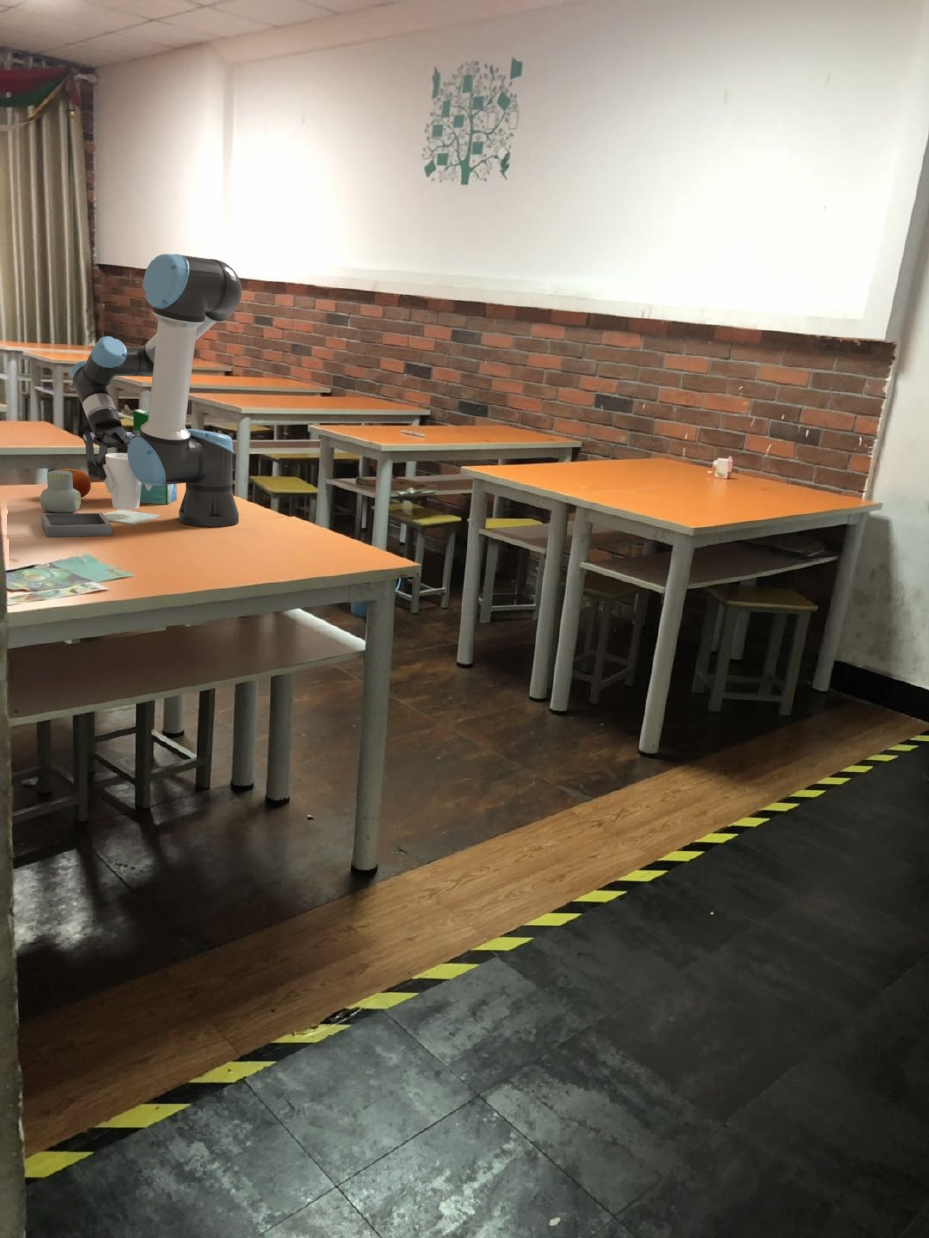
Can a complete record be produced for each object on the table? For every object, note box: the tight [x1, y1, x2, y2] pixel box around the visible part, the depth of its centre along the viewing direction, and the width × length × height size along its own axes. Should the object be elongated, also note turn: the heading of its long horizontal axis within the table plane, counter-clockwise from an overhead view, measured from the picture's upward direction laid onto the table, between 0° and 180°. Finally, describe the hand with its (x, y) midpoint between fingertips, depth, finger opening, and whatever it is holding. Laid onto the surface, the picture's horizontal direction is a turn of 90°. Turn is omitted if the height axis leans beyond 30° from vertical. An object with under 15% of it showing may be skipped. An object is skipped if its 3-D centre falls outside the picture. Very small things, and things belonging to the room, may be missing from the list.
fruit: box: [57, 468, 92, 499], centre depth 260 cm, size 11×10×8 cm
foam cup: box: [104, 452, 142, 510], centre depth 243 cm, size 10×9×13 cm
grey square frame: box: [40, 512, 113, 538], centre depth 228 cm, size 14×14×2 cm
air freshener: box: [39, 470, 82, 514], centre depth 245 cm, size 11×8×10 cm
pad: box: [103, 509, 162, 526], centre depth 245 cm, size 12×12×1 cm
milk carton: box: [132, 407, 178, 505], centre depth 265 cm, size 9×9×25 cm
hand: (131, 488), depth 241 cm, fingers closed on foam cup, 9 cm apart
